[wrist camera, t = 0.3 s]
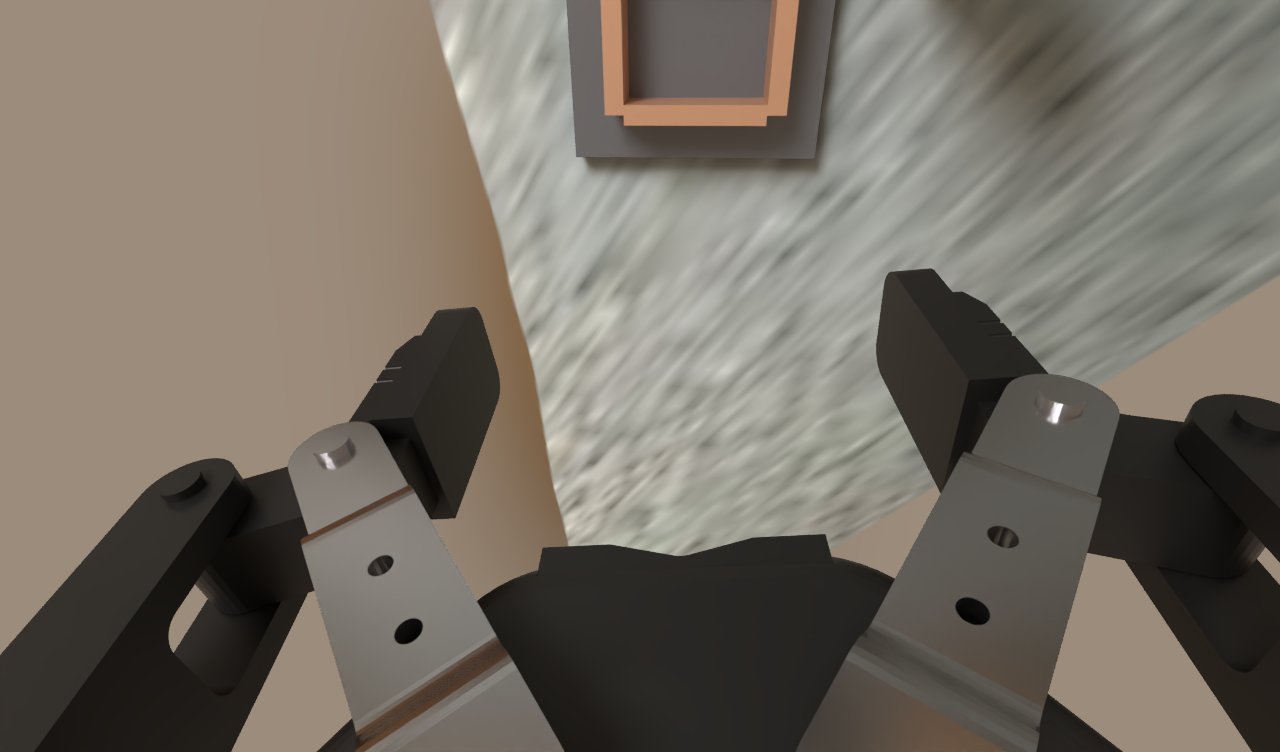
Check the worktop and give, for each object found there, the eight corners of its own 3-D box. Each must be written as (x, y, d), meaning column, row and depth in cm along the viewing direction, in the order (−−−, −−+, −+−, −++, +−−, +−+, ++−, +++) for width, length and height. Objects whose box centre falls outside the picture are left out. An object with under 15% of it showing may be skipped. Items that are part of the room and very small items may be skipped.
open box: (563, -141, 30) (543, -163, 26) (849, -150, 29) (872, -174, 25) (580, 151, 38) (566, 168, 34) (810, 153, 36) (823, 170, 33)
